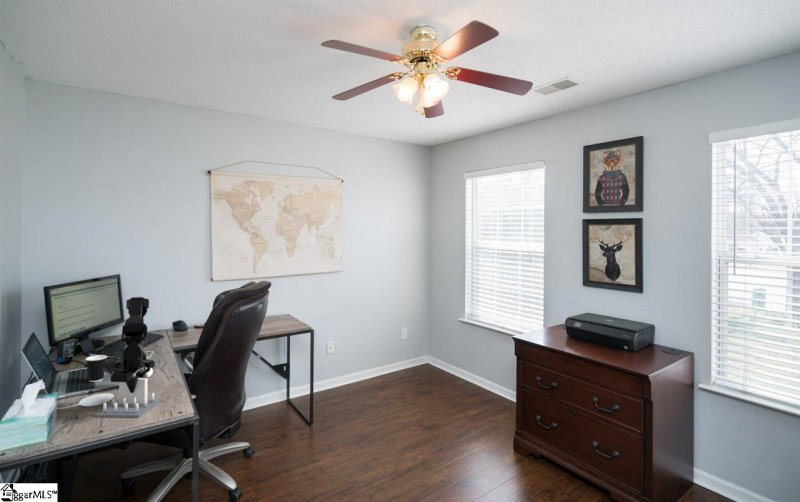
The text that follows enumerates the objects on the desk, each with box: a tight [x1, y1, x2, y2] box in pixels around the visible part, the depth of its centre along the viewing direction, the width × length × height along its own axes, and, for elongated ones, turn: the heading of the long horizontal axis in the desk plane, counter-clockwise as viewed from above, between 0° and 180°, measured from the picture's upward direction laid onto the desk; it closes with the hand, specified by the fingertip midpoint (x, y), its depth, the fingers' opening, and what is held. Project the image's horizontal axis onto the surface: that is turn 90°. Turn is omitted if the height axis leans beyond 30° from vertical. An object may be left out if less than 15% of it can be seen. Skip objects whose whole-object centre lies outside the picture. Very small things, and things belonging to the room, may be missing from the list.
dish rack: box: [95, 392, 162, 419], centre depth 155 cm, size 14×16×4 cm
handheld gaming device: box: [144, 350, 155, 360], centre depth 223 cm, size 9×1×15 cm
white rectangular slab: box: [118, 377, 149, 405], centre depth 158 cm, size 2×10×10 cm, turn 92°
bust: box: [145, 368, 154, 378], centre depth 191 cm, size 12×8×11 cm
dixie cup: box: [85, 354, 108, 383], centre depth 183 cm, size 8×8×11 cm
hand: (133, 391), depth 158 cm, fingers closed on white rectangular slab, 2 cm apart
